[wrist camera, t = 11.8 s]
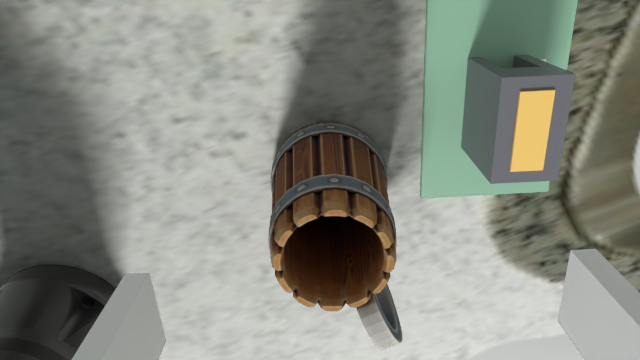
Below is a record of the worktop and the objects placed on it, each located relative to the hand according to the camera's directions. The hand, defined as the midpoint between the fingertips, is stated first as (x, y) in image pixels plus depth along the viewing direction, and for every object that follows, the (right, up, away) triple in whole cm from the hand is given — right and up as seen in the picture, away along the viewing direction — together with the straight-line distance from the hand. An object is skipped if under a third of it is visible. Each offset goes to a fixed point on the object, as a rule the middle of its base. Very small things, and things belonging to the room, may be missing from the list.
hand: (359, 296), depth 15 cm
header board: (+14, +11, +27) cm, 32 cm away
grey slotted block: (+14, +10, +26) cm, 31 cm away
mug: (+1, +2, +31) cm, 31 cm away
